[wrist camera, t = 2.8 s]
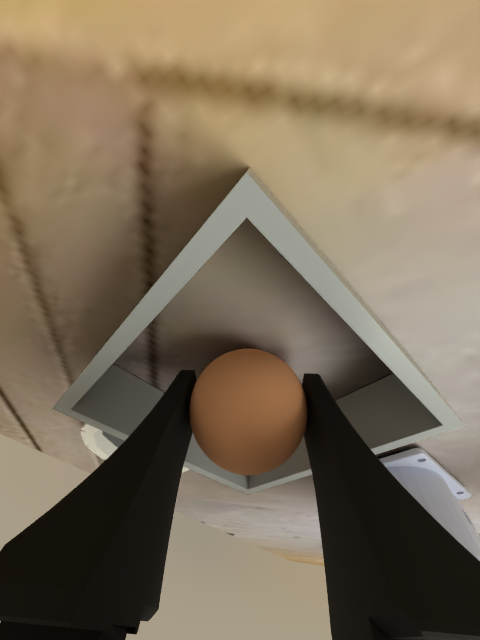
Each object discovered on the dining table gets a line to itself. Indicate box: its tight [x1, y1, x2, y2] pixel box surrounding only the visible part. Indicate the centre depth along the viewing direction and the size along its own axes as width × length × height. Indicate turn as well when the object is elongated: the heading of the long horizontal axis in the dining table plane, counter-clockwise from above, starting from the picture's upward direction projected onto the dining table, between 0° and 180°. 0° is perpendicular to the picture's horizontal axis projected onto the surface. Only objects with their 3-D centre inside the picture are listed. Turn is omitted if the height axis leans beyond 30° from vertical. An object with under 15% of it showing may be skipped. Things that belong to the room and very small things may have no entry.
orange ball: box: [189, 349, 308, 475], centre depth 10 cm, size 5×5×5 cm
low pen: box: [52, 168, 465, 495], centre depth 11 cm, size 12×12×3 cm
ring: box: [80, 423, 190, 473], centre depth 16 cm, size 8×8×1 cm
